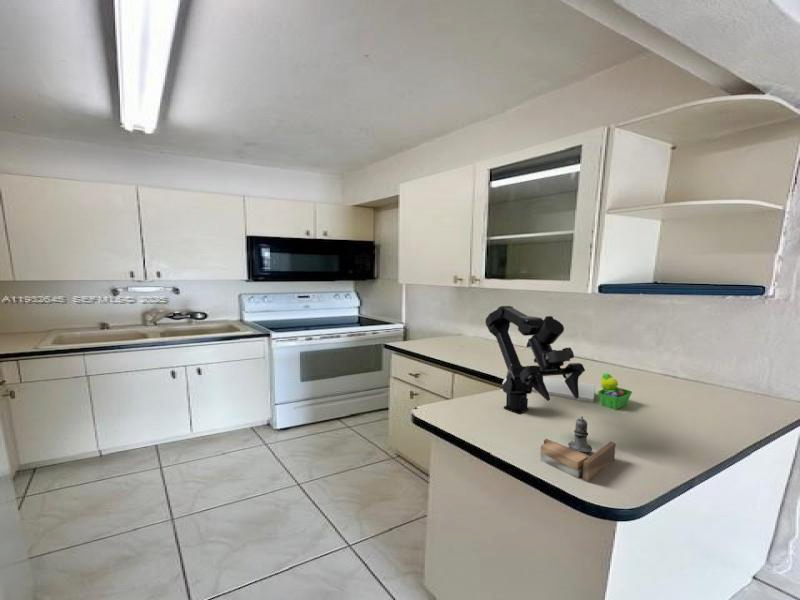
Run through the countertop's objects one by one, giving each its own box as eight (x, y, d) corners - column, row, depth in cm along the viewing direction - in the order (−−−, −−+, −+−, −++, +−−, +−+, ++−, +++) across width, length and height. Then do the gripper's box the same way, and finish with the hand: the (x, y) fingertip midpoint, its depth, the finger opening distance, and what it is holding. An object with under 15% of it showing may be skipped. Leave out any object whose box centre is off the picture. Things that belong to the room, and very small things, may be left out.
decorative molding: (592, 409, 142) (594, 394, 150) (593, 399, 140) (595, 384, 148) (502, 393, 159) (508, 380, 167) (502, 383, 157) (508, 371, 165)
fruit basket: (617, 411, 133) (619, 381, 131) (592, 404, 140) (594, 374, 139) (632, 404, 139) (634, 375, 138) (607, 397, 146) (609, 369, 145)
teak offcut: (540, 452, 98) (540, 445, 98) (549, 448, 100) (549, 441, 100) (577, 470, 90) (577, 462, 90) (586, 464, 92) (586, 457, 92)
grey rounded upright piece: (570, 463, 99) (573, 419, 98) (565, 452, 105) (567, 410, 103) (594, 465, 98) (597, 421, 97) (587, 454, 104) (590, 412, 102)
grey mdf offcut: (540, 460, 98) (540, 453, 98) (549, 455, 100) (549, 448, 100) (578, 478, 90) (578, 470, 90) (586, 472, 92) (586, 464, 92)
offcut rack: (534, 463, 99) (535, 441, 98) (563, 444, 109) (564, 425, 108) (587, 487, 89) (588, 463, 88) (613, 464, 98) (615, 443, 98)
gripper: (526, 339, 109) (546, 389, 100) (582, 336, 113) (607, 384, 103) (512, 358, 118) (529, 406, 108) (564, 355, 122) (586, 401, 112)
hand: (563, 399), depth 108 cm, fingers open, 9 cm apart
